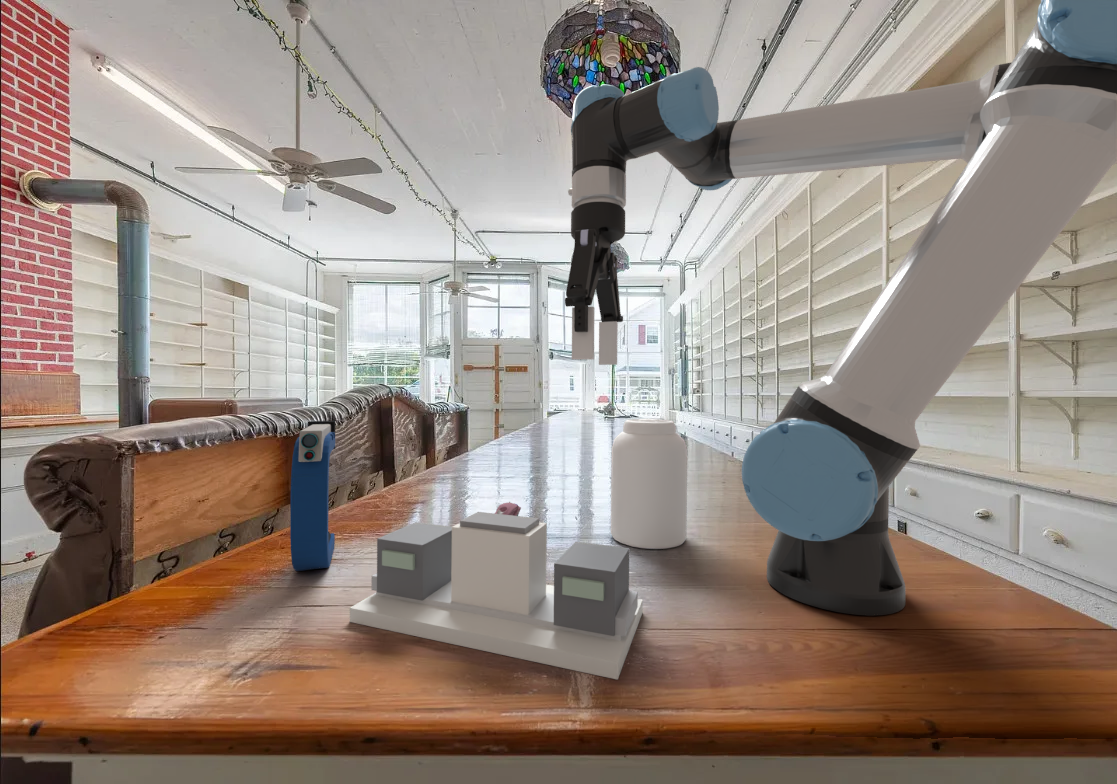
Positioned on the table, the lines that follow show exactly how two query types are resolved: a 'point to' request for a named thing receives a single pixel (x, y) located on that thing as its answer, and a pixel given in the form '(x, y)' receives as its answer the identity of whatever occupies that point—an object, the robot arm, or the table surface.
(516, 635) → the board
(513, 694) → the table surface
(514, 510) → the pink rounded piece
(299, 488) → the handheld scanner
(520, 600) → the block
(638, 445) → the white jar
